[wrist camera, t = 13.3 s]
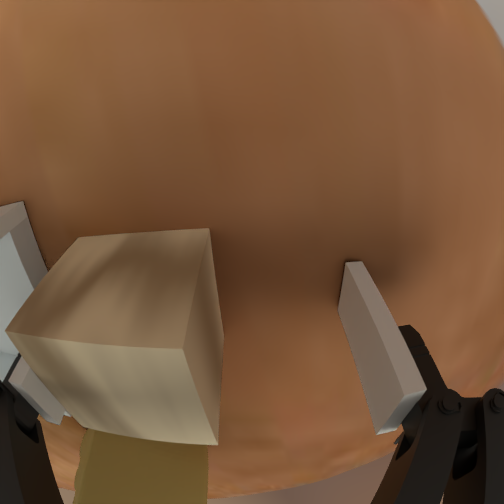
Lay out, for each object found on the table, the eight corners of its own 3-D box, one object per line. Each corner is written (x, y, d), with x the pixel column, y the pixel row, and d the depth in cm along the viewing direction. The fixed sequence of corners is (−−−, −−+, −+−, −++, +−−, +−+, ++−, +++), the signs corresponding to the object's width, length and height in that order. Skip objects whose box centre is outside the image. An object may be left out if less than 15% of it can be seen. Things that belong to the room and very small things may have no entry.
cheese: (85, 429, 23) (66, 505, 14) (102, 397, 18) (73, 507, 10) (171, 460, 26) (163, 534, 17) (216, 438, 21) (212, 539, 13)
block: (83, 426, 9) (217, 445, 9) (4, 330, 6) (182, 348, 6) (117, 333, 14) (224, 335, 14) (79, 236, 11) (209, 227, 11)
